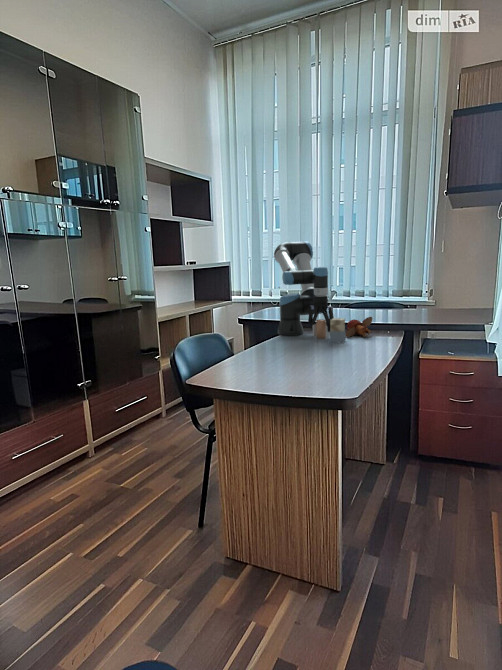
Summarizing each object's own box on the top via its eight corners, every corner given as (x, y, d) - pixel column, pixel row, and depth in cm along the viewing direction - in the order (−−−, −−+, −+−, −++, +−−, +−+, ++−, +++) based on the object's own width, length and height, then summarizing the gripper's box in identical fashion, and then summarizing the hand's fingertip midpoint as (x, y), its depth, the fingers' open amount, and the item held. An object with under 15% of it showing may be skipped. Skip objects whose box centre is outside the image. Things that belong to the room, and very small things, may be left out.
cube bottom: (329, 342, 213) (329, 330, 212) (335, 339, 217) (335, 328, 216) (340, 343, 209) (340, 331, 208) (345, 341, 214) (345, 329, 213)
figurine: (382, 331, 225) (363, 322, 237) (380, 318, 221) (361, 309, 233) (354, 348, 220) (337, 337, 232) (352, 335, 215) (334, 325, 227)
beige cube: (330, 331, 211) (330, 319, 210) (333, 329, 216) (333, 318, 215) (341, 331, 208) (341, 320, 207) (344, 329, 213) (344, 318, 212)
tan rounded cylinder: (314, 338, 223) (314, 320, 221) (319, 336, 227) (319, 319, 225) (323, 339, 220) (322, 321, 218) (327, 337, 224) (327, 319, 222)
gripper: (300, 295, 222) (301, 336, 227) (334, 296, 210) (334, 339, 214) (307, 294, 228) (308, 333, 233) (341, 295, 216) (341, 337, 220)
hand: (321, 336), depth 224 cm, fingers open, 8 cm apart
